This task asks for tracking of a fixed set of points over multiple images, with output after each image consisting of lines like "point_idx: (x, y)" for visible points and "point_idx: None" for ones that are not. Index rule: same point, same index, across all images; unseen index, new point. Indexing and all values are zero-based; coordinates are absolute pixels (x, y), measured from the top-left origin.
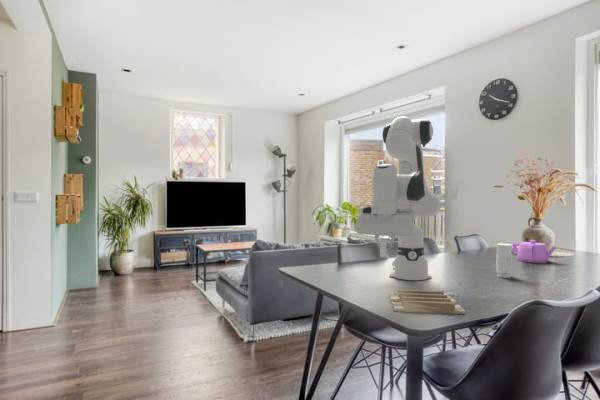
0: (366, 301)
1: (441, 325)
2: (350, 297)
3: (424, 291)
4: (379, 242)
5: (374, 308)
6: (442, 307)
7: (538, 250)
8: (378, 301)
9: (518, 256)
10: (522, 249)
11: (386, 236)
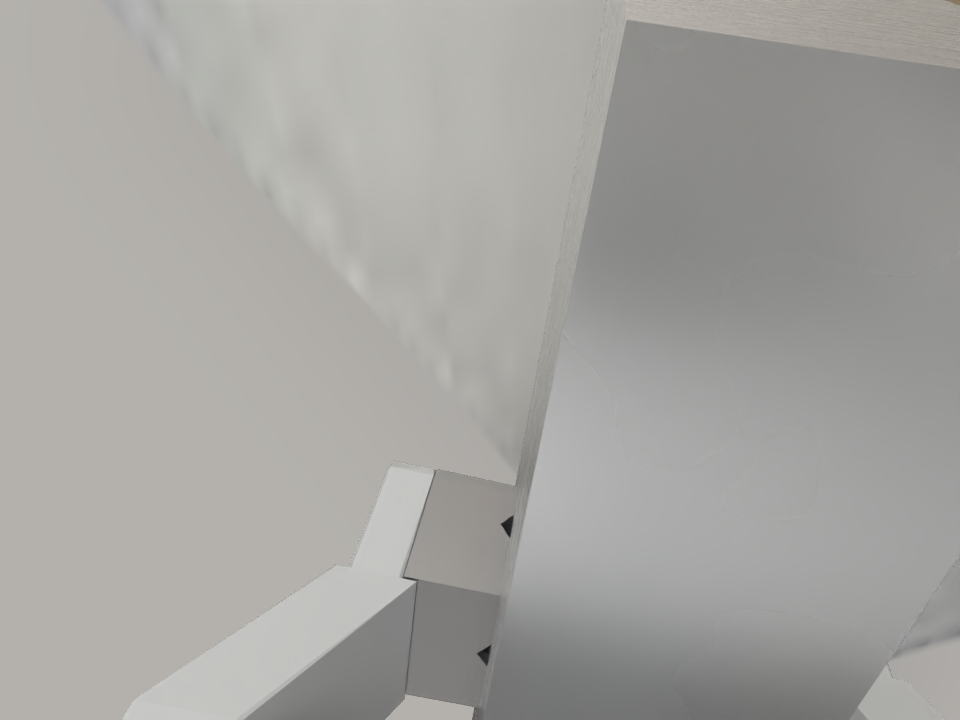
0: (423, 177)
1: (911, 636)
2: (242, 48)
3: None
4: (400, 697)
5: (503, 372)
6: None
7: None
8: (541, 156)
9: None
10: None
11: (817, 372)
